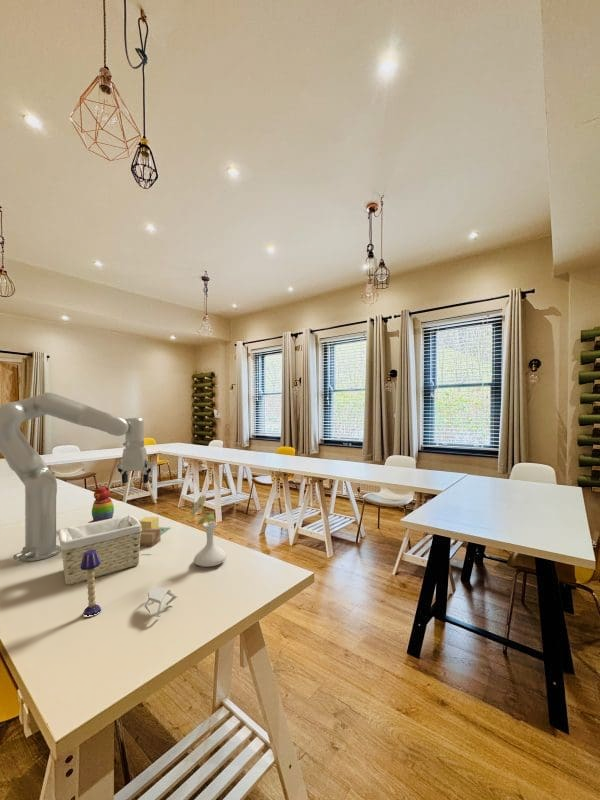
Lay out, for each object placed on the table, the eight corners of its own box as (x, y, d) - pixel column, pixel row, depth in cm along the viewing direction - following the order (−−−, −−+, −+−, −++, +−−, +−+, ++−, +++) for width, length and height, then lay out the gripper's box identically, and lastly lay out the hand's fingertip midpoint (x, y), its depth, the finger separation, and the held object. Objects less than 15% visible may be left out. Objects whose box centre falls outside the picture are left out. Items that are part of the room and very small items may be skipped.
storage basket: (60, 589, 105) (60, 541, 105) (57, 570, 117) (57, 527, 118) (143, 566, 119) (143, 524, 120) (132, 551, 132) (132, 513, 132)
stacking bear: (84, 526, 161) (84, 489, 161) (102, 519, 170) (102, 484, 171) (102, 528, 158) (102, 490, 158) (119, 521, 167) (119, 485, 168)
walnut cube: (152, 549, 133) (152, 534, 134) (138, 549, 134) (138, 533, 134) (160, 543, 139) (160, 528, 140) (146, 543, 140) (146, 528, 140)
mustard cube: (151, 535, 145) (151, 521, 145) (138, 535, 146) (138, 521, 146) (158, 530, 151) (158, 517, 151) (146, 530, 152) (145, 516, 152)
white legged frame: (183, 609, 93) (183, 591, 93) (155, 625, 87) (154, 605, 87) (160, 595, 101) (160, 578, 101) (132, 608, 94) (131, 590, 94)
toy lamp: (78, 620, 89) (78, 556, 89) (82, 610, 93) (82, 549, 94) (99, 615, 91) (99, 552, 91) (102, 606, 95) (102, 546, 96)
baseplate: (154, 542, 141) (154, 538, 141) (123, 541, 142) (123, 537, 142) (171, 529, 155) (171, 527, 155) (142, 529, 156) (142, 526, 156)
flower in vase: (212, 553, 129) (211, 487, 130) (233, 560, 122) (232, 491, 123) (183, 566, 118) (182, 494, 119) (204, 575, 112) (203, 499, 112)
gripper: (111, 446, 150) (111, 485, 149) (149, 445, 149) (149, 484, 148) (121, 444, 157) (121, 481, 157) (157, 443, 156) (157, 481, 156)
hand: (135, 482), depth 153 cm, fingers open, 9 cm apart
